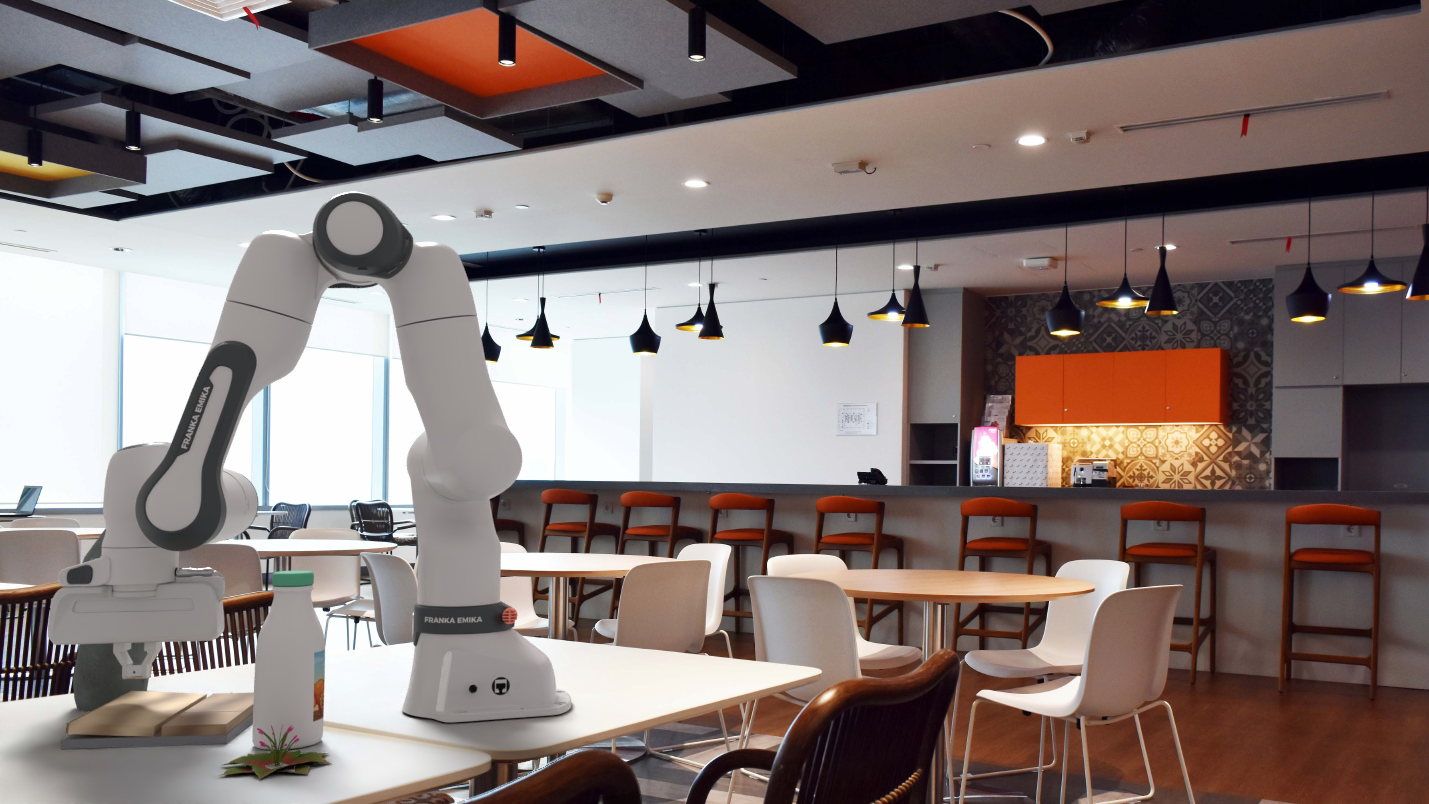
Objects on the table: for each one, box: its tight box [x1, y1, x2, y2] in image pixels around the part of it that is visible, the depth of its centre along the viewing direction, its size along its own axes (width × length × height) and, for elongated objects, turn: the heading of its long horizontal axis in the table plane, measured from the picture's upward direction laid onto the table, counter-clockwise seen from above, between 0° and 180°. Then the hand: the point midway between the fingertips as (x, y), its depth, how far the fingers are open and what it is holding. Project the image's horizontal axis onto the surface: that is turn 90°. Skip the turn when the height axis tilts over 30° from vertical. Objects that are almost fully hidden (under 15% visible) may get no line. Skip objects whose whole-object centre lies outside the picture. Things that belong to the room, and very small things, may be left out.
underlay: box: [60, 714, 253, 750], centre depth 133 cm, size 18×20×1 cm
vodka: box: [72, 527, 150, 713], centre depth 147 cm, size 9×9×30 cm
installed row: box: [161, 691, 254, 737], centre depth 134 cm, size 7×20×1 cm, turn 9°
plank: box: [64, 690, 208, 737], centre depth 133 cm, size 10×20×1 cm, turn 9°
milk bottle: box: [251, 570, 326, 751], centre depth 126 cm, size 8×8×20 cm
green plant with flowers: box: [218, 725, 332, 781], centre depth 115 cm, size 12×12×5 cm
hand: (136, 678), depth 136 cm, fingers closed
